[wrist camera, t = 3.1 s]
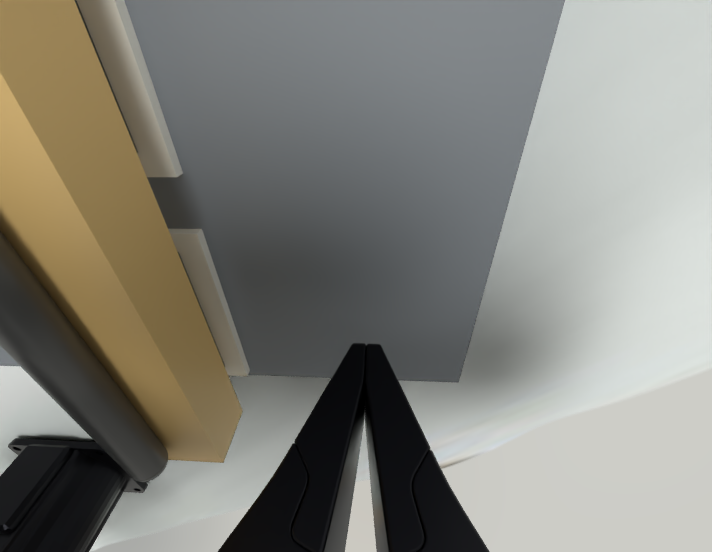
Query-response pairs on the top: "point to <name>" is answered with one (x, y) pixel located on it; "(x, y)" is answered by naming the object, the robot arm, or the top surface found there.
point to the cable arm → (96, 259)
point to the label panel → (329, 164)
